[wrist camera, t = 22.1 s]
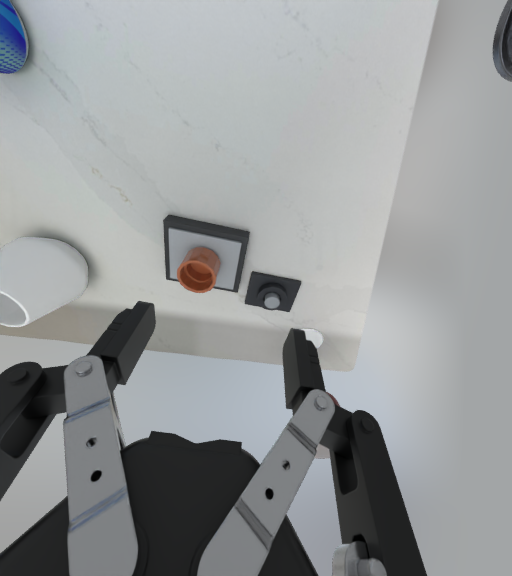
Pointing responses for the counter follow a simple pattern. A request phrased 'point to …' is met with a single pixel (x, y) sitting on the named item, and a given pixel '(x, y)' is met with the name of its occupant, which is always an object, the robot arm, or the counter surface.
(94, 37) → the counter surface
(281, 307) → the block
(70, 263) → the cup
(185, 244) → the scale
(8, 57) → the beer can
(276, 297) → the button
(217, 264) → the copper hollow cylinder
